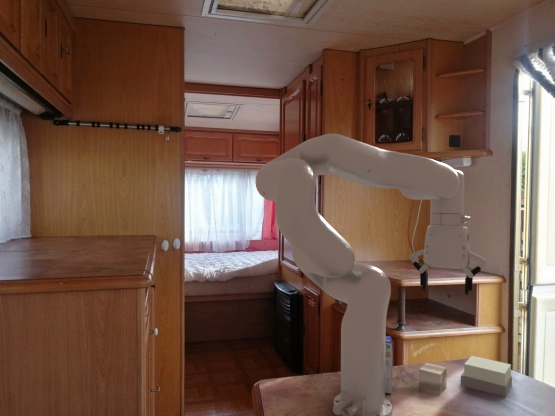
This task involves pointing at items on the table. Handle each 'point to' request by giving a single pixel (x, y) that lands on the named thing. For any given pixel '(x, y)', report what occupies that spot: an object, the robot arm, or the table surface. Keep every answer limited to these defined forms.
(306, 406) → the table surface
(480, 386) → the tower base block
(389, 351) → the ink cartridge box
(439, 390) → the birch cube
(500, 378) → the tower top block
